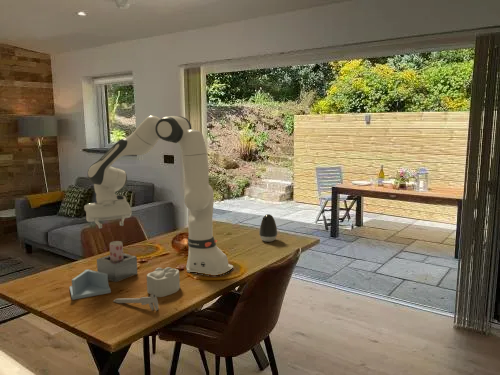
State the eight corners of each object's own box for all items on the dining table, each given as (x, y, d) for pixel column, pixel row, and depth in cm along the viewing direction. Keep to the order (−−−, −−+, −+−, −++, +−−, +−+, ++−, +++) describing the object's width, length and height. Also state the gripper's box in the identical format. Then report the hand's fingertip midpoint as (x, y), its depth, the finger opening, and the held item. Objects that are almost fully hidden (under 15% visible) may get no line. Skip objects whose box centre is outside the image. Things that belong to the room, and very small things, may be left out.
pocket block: (137, 273, 193) (136, 256, 191) (115, 282, 183) (114, 264, 182) (119, 268, 199) (118, 252, 198) (97, 276, 190) (96, 259, 188)
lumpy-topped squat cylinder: (144, 291, 174) (143, 270, 172) (170, 282, 183) (169, 262, 181) (159, 298, 166) (158, 277, 165) (185, 288, 176) (185, 268, 174)
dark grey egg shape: (255, 241, 241) (255, 214, 239) (265, 237, 250) (265, 211, 247) (270, 244, 235) (270, 217, 233) (280, 239, 244) (280, 213, 241)
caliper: (158, 310, 157) (157, 294, 156) (156, 312, 156) (156, 295, 155) (114, 301, 165) (113, 285, 164) (112, 302, 164) (111, 286, 163)
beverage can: (112, 273, 194) (110, 241, 191) (125, 272, 194) (123, 240, 192) (109, 277, 188) (107, 244, 186) (123, 277, 189) (121, 244, 186)
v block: (69, 289, 176) (68, 272, 175) (106, 282, 182) (105, 266, 181) (72, 299, 166) (70, 282, 165) (110, 292, 172) (109, 275, 171)
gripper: (83, 200, 197) (87, 225, 190) (128, 196, 206) (134, 220, 199) (83, 207, 202) (87, 232, 195) (127, 203, 211) (132, 227, 204)
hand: (111, 226), depth 197 cm, fingers open, 8 cm apart
